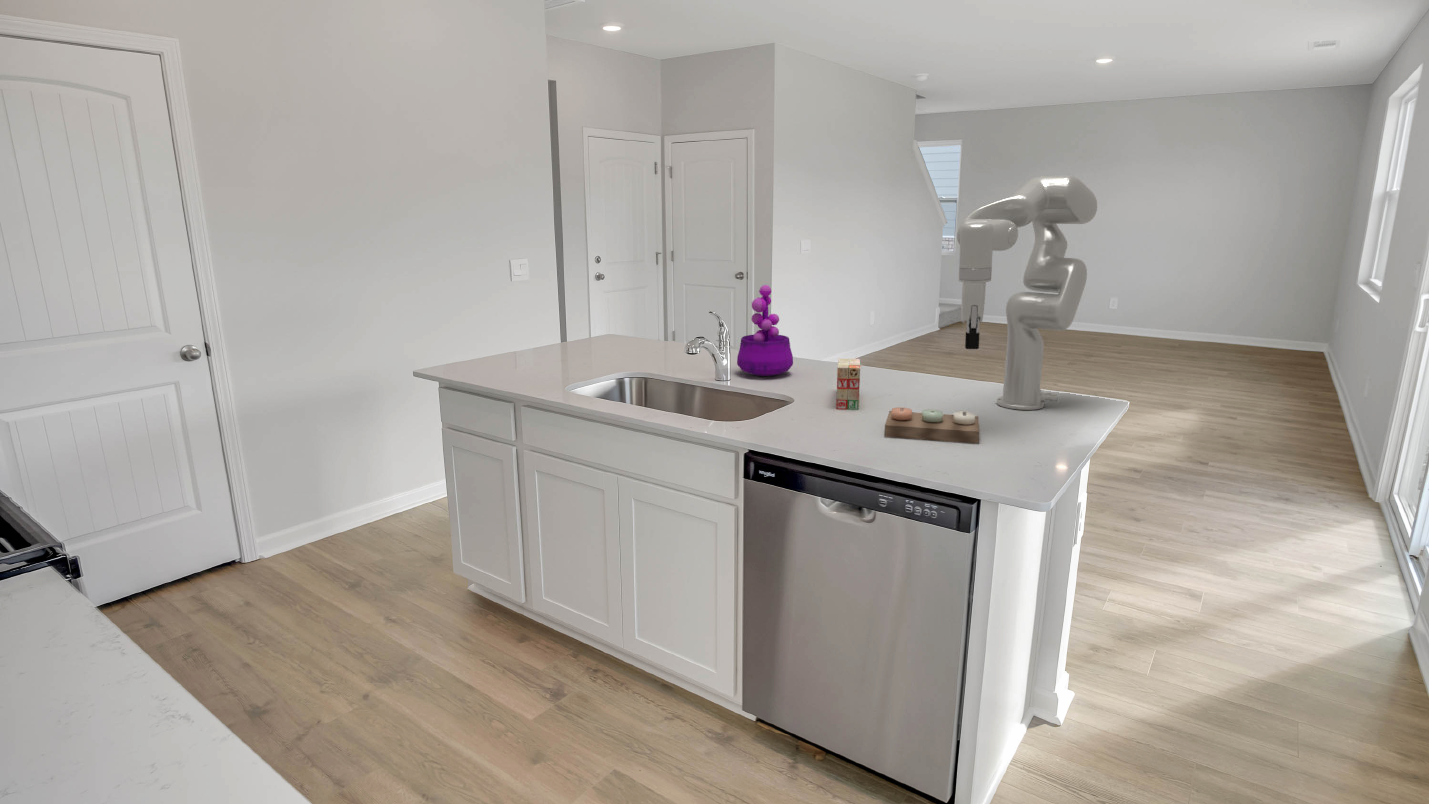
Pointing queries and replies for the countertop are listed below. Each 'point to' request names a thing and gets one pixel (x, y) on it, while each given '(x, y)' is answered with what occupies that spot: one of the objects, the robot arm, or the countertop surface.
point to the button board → (932, 429)
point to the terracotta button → (901, 413)
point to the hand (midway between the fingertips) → (971, 348)
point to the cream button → (964, 417)
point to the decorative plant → (764, 342)
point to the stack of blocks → (848, 384)
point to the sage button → (932, 415)
